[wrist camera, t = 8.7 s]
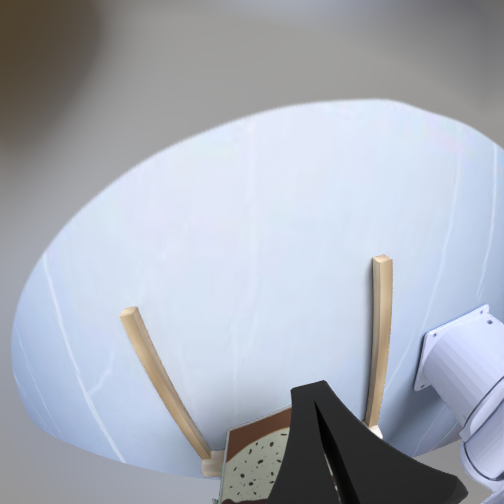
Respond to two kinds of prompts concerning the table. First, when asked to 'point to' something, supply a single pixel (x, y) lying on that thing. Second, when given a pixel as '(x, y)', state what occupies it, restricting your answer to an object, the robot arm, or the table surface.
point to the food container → (254, 458)
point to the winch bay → (169, 396)
